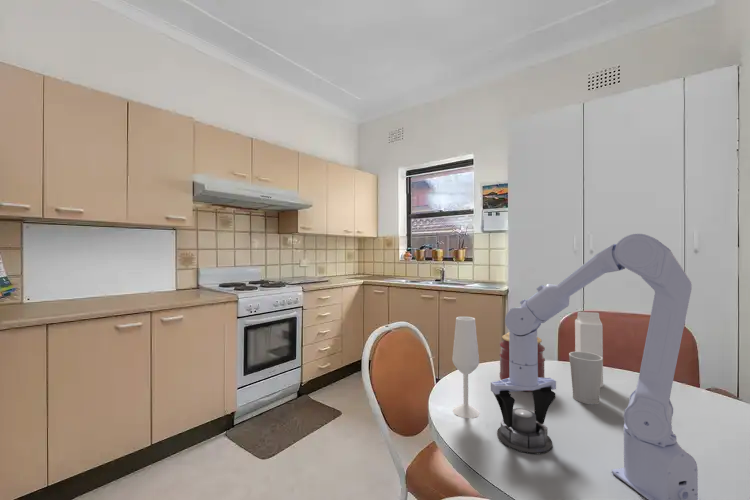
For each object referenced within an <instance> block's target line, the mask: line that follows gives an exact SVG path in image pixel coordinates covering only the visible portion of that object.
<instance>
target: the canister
mask: <svg viewBox="0 0 750 500" xmlns="http://www.w3.org/2000/svg"><path fill="white" fill-rule="evenodd" d="M501 338H502V339H503V340H501V341H500V342H499V344H498V345H499V347H500V352H499V379H500V380H503V379H507V378H509V331H508V332H507V333H505V334H503V335H502V336H501ZM542 341H543V340H542V338H540V337H539V336H537V342H538V377H539V378H545V361H546V359H545V357H544V352H545V349H546V347H545V346H544V345H542V344H541V343H542ZM500 380H499V381H500ZM525 392H528V391H527V390H526V391H525Z"/></svg>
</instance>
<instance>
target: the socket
mask: <svg viewBox="0 0 750 500" xmlns="http://www.w3.org/2000/svg"><path fill="white" fill-rule="evenodd" d="M548 431H549V430H548V427H547V426H546V425H545V424H540V423H539V422H538V421H536V433H530V434H526V433H523V432H519V431H516V430H513V429H512V428H511V427H508V426H507V425H506V424H504V421H503V419H502V420H501V421H500V427H498V429H497V430H496V435H497V438H498V440H499V441H500V442H501V443H502V445H504V446H506V447H508V448H510V449H512V450H514V451H515V452H516V451H517V452H520V453H523V454H527V455H528V454H530V455H541V454H546V453H548V452H549V451H551V450H552V448H553V441H552V439H551V438H550V436H549V435H548Z"/></svg>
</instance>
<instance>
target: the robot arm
mask: <svg viewBox="0 0 750 500" xmlns="http://www.w3.org/2000/svg"><path fill="white" fill-rule="evenodd" d="M625 269H627V270H629V271H630V272H632V273H634V274H636V275H638V276H639V277H641V279H643V281H644V282H645V283H647V284H648V286H649V287H650V288H652V289H653V291H654V296H653V302H652V307H651V312H650V317H649V322H648V327H647V328H648V329H647V333H646V338H645V344H644V348H643V353H642V360H641V363H640V369H639V374H638V380H637V384H636V388H635V390H633V391H632V392H631V394H630V396H629V400H628V404H627V407H626V408H625V410H624V412H623V421H624V423H623V467H621V468H619V467H618V468H612V469H611V473H612V474H613V475H615V476H616V477H617V478H618V479H620V480H621V481H623V482H624V483H625V484H627V485H628V486H629V487H631V488H632V489H634V490H635V492H637V493H639V494H640V495H641V496H642V497H644V498H645V499H646V500H698V499H700V498H699V495H698V493H699V491H698V490H699V489H698V487H699V485H698V480H699V479H698V477H699V476H698V473H699V472H698V470H699V469H698V463H697V461H696V459H695V458H694V457H693V455H691V454H690V453H688V452H687V451H686V450H685V449H683V448H682V446H681V445H680V444H679V443H678V440H677V435H676V434H675V433H674V432H673V426H672V420H673V415H674V406H673V403H672V402H671V394H672V388H673V384H674V377H675V373H676V367H677V364H678V363H677V362H678V357H679V354H680V348H681V342H682V338H683V332H684V327H685V323H686V319H687V318H686V317H687V315H688V313H687V312H688V308H689V303H690V299H691V298H690V297H691V294H692V287H693V285H692V281H691V279H690V278H689V277H688V275H687V274H686V272H685V271H684V269H683V267H682V266H681V264H680V263H679V262H678V259H677V258H676V257H675V255H674V253H673V252H672V250H671V249H670V248H669V247H667V246H666V245H665V244H663V243H662V242H661V241H659V240H658V239H657V238H656V237H653V236H650V235H648V234H643V233H633V234H628V235H626V236H624V237H622V238H621V239H620V240H619V241H618V242H617V243H613V244H611V245H609V246H607V247H605V248H604V249H603V250H601V251H599V252H598V253H596V254H594V255H593V256H592V257H590V258H589V259H588V260H587V261H586V262H584V263H583V264H581V266H579V267H578V268H577V269H576V270H574V271H573V272H572V273H570V274H569V275H568V276H567V277H565V278H564V279H563V280H562V281H561V282H560V283H557V284H554V283H553V284H552V283H547V284H546V285H543V284H541V285H539V286H538V287H536V292H535V293H534V294H533V295H531V296H530V297H528V298H526V299H522V300H521V301H519V304H520V306H518V307H517V306H516V307H512V308H510V310H509V311H507V313H506V315H505V319H504V323H505V326H506V328H507V330H508V332H509V378H507V379H503V380H497V381H491V382H490V392H492V393H493V395H494V397H495V399H496V401H497V404H498V406H499V409H500V412H501V416H502V420H503V421H504V424H506V425H507V426H508V427H512V413H513V409H514V405H515V403H516V399H515V398H514V397H513V396H512V395H511V392H532V399H533V407H534V408H533V409H534V410H533V412H534V413H535V414H536V421H538V422H539V423H540V424H543V425H545V421H546V417H547V413H548V410H549V408H550V406H551V404H552V402H553V401H554V400H555V399H556V392H554V391H553V390H555V391H556V390H557V381H556V380H555V379H554V378H551V377H544V378H539V377H538V342H537V337H538V329H539V328H540V327H541V326H542V324H544V323H546V322H548V321H549V320H550V319H552V318H553V317H555V316H556V315H558V314H559V313H561V312H562V311H564V310H565V309H566V308H568V307H569V306H570V298H571V296H572V295H574V294H575V293H577V292H578V291H581V290H582V289H583V288H585V287H586V286H587V285H589V284H591V283H592V282H594V281H595V280H597V279H598V278H600V277H601V276H603V275H605V274H608V273H614V272H619V271H623V270H625ZM526 390H527V391H526Z"/></svg>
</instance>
